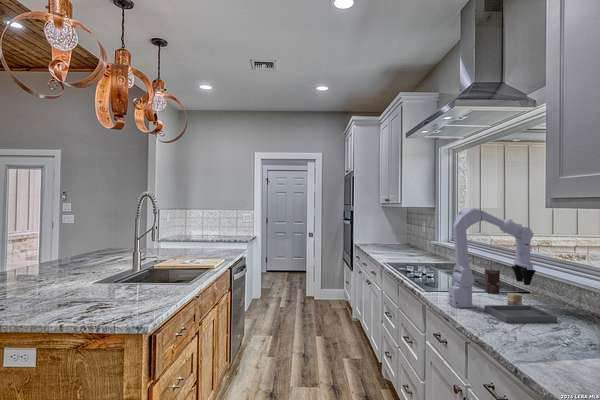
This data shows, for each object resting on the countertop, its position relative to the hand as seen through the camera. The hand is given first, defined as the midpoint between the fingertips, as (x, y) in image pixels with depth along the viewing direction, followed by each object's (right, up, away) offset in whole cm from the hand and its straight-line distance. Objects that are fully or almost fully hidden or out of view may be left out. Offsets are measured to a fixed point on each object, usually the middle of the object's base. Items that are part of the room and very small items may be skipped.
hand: (523, 283), depth 167 cm
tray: (-12, -10, -17) cm, 23 cm away
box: (-1, -11, +24) cm, 27 cm away
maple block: (-6, -10, -4) cm, 12 cm away
